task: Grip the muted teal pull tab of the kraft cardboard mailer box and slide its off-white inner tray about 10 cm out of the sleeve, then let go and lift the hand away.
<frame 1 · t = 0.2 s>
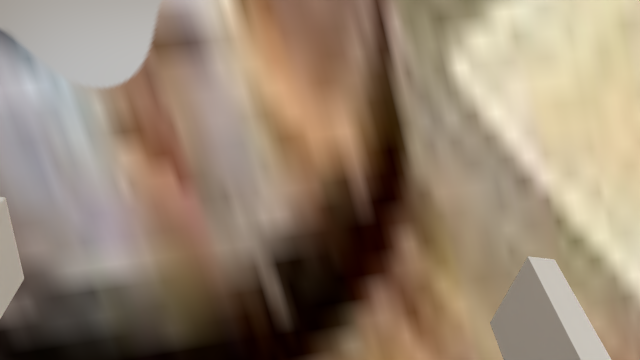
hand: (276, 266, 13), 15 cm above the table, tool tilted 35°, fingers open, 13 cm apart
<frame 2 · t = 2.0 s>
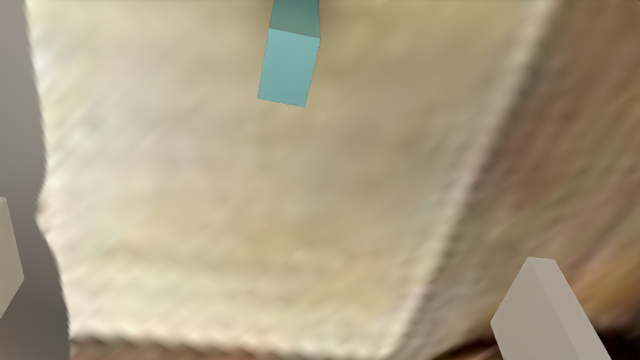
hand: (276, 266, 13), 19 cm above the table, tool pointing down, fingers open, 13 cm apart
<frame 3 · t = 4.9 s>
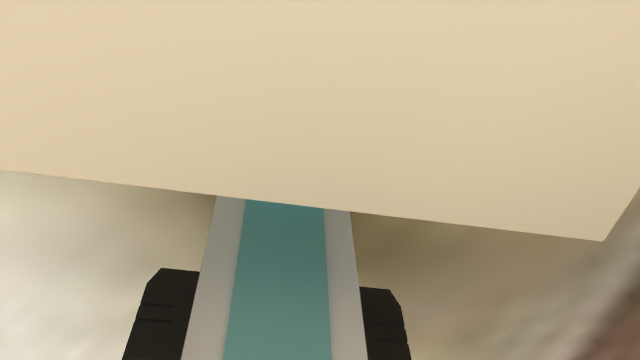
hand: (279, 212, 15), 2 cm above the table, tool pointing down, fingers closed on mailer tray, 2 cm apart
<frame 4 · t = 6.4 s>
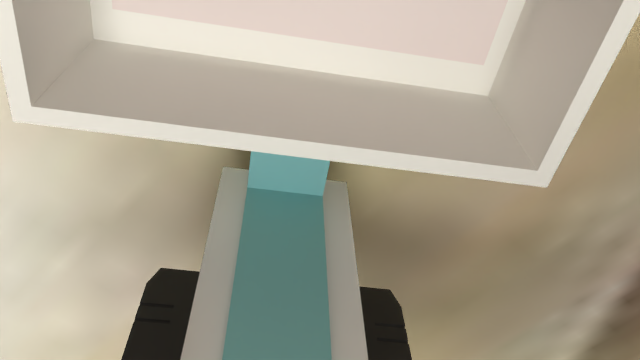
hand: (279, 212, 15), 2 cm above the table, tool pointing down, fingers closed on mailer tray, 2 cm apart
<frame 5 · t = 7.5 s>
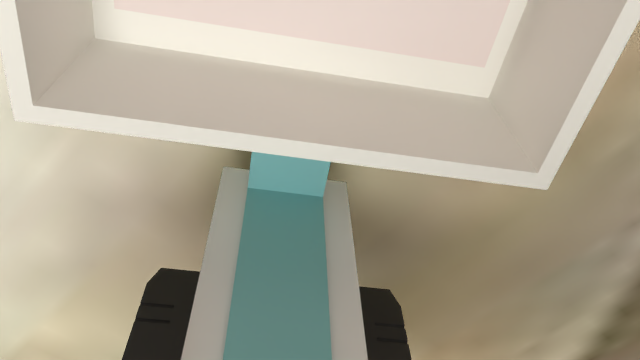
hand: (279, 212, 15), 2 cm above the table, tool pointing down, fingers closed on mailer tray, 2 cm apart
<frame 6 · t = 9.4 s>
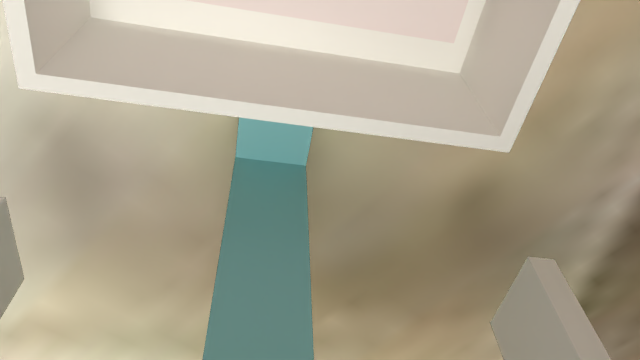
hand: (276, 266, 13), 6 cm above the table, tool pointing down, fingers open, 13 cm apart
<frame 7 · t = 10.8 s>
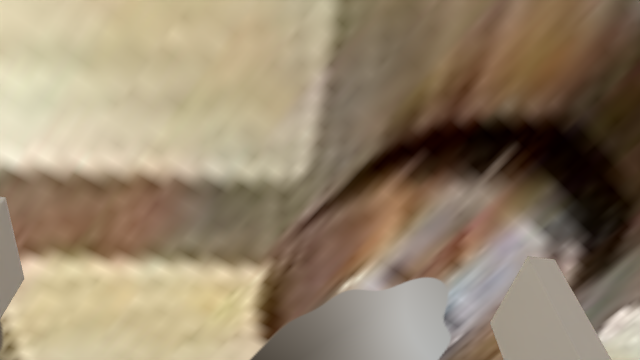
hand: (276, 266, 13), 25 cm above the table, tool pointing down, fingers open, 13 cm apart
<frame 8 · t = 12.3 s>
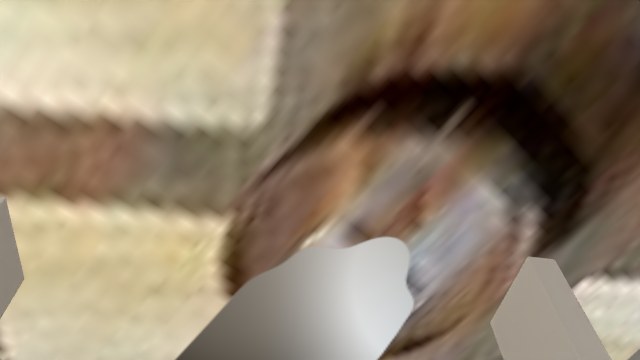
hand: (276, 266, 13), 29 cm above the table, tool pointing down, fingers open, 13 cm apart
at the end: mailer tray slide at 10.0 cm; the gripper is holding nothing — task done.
